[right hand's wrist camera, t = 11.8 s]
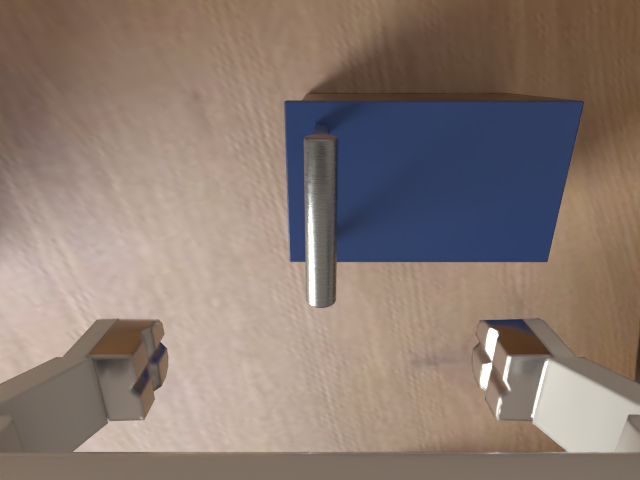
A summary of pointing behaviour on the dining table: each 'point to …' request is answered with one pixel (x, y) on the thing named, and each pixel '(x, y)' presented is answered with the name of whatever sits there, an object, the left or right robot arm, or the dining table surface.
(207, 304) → the dining table surface
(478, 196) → the lid
